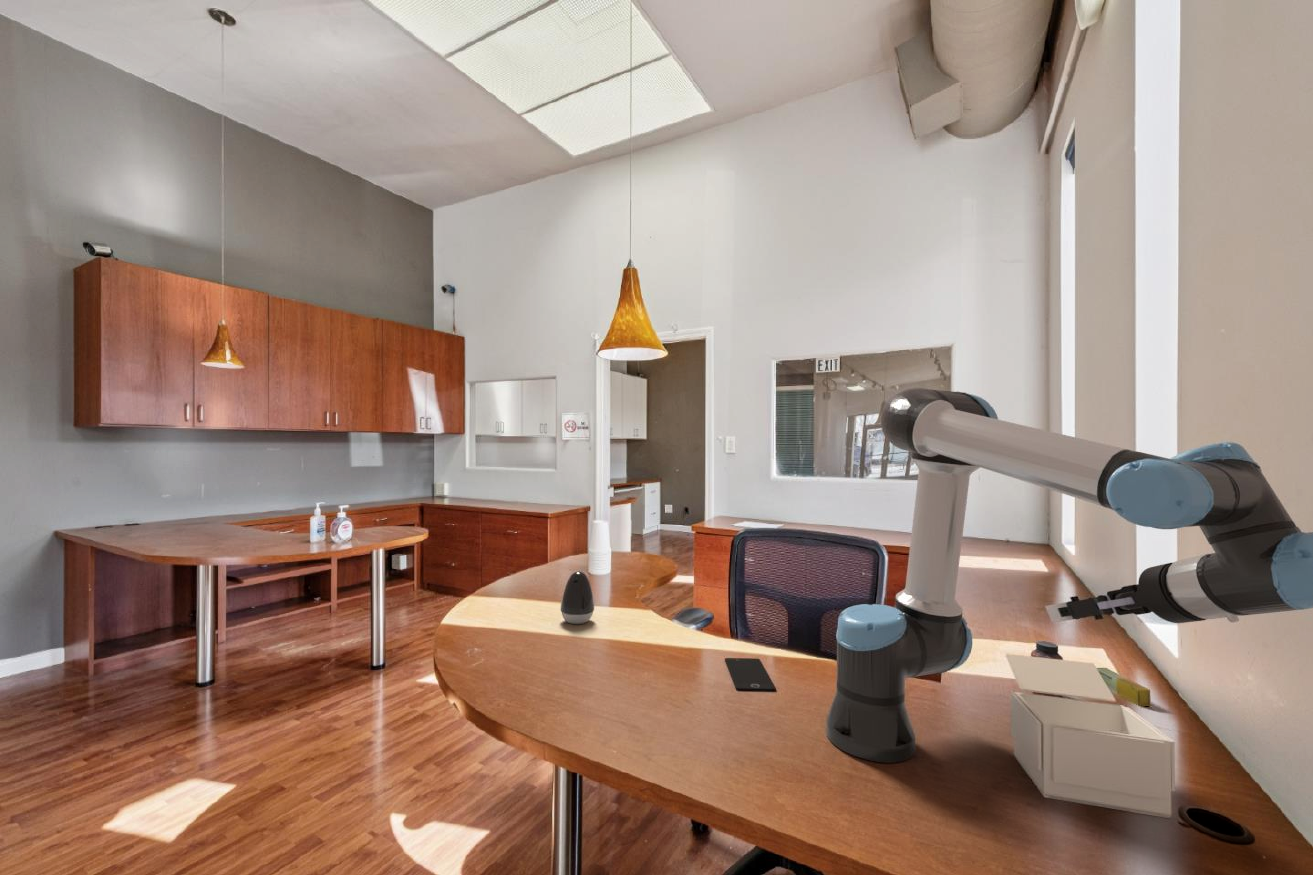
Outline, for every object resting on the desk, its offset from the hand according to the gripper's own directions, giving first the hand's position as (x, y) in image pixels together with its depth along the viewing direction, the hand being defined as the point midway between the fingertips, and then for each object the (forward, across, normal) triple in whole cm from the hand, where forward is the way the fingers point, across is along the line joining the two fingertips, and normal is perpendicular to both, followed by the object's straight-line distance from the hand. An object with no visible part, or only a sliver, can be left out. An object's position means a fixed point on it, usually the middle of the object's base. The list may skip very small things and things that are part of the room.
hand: (1052, 613), depth 91 cm
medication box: (+35, +39, -19) cm, 56 cm away
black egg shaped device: (+85, -82, +20) cm, 119 cm away
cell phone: (+47, -42, -2) cm, 63 cm away
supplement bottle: (+35, +21, -16) cm, 44 cm away
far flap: (+9, +4, -10) cm, 14 cm away
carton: (+6, -2, -25) cm, 26 cm away
